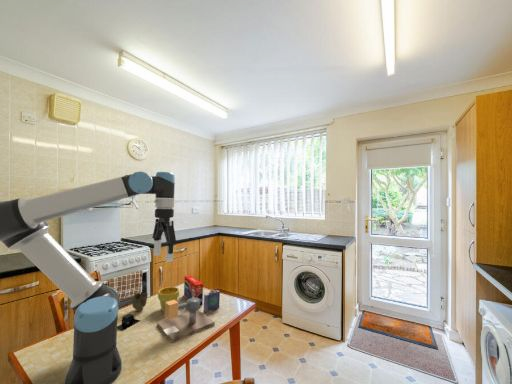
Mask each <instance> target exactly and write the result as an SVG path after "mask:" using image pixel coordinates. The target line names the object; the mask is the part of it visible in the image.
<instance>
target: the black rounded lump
mask: <svg viewBox="0 0 512 384" xmlns="http://www.w3.org/2000/svg"><path fill="white" fill-rule="evenodd" d="M139 322H141V320H139V319H136V318H135V314H134V313H131V312H129V313H127V314H126V315H123V316H122V318H121V324H119V325H117V331H118V330H119V331H121V332H124V331H126V330H127V329H129V328H131V327H132V326H134V325H136V324H139Z"/></svg>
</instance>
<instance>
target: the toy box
mask: <svg viewBox="0 0 512 384" xmlns="http://www.w3.org/2000/svg"><path fill="white" fill-rule="evenodd" d="M183 280H184V282H183V285H184V286H183V296H184V297H185V298H186V300H188V299H190V298H199V299H200V305H201V306H204V295H203V294H204V283H203V282H202V281H200V280H199V279H197V278H195V276H192V275H191V274H188V275H185V276H184V279H183Z"/></svg>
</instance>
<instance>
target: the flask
mask: <svg viewBox="0 0 512 384" xmlns="http://www.w3.org/2000/svg"><path fill="white" fill-rule="evenodd" d="M220 293H221V291H220V290H218V289H216V290H214V289H213V288H210V291H209V292H206V293H203V294H204V295H203V312H204V314H206V313H209V312H213V311H214V310H215V311H216V310H218V309H220V296H221V295H220Z"/></svg>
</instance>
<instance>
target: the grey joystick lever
mask: <svg viewBox="0 0 512 384" xmlns="http://www.w3.org/2000/svg"><path fill="white" fill-rule="evenodd" d="M185 301H186V302H182V303H179V302H178V300H177V301H176V300H171V301H168V302H165V312H164V316H165V319H168V320H170V319H173V318H176V317H178V315H179V311H180V310H184V309H185V310H186V312H189V311H196V310H200V307H201V306H200V299H199V298H190V299H186V300H185Z"/></svg>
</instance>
